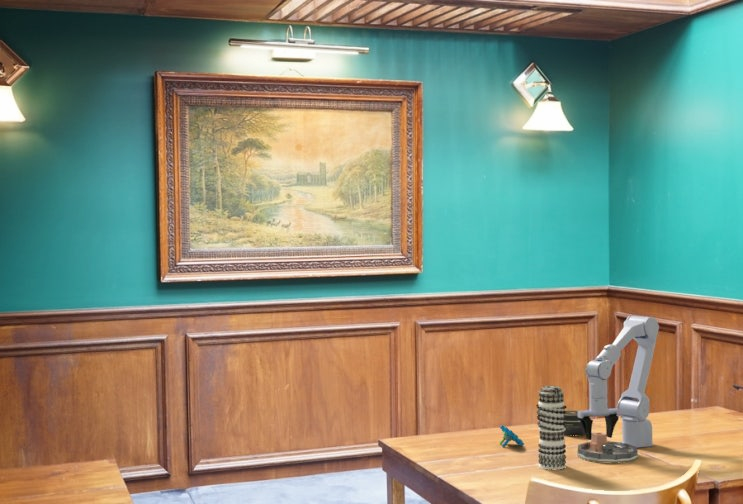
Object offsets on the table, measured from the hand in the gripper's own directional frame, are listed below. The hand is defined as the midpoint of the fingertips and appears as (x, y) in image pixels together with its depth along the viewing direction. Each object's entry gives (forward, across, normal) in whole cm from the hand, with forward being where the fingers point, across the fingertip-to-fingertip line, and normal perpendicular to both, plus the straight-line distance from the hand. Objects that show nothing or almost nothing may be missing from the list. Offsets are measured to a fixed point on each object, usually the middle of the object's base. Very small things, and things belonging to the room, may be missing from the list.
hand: (599, 438), depth 311 cm
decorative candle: (+5, +23, +11) cm, 26 cm away
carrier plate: (+5, 0, +5) cm, 7 cm away
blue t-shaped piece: (+5, +23, -19) cm, 30 cm away
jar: (+5, -6, -29) cm, 30 cm away
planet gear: (+4, 0, 0) cm, 4 cm away
